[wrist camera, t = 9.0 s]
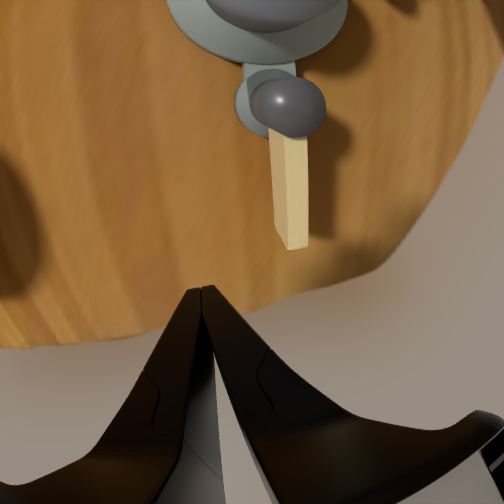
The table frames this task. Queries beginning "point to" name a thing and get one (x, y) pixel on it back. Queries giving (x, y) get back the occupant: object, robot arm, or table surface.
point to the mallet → (289, 148)
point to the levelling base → (259, 37)
